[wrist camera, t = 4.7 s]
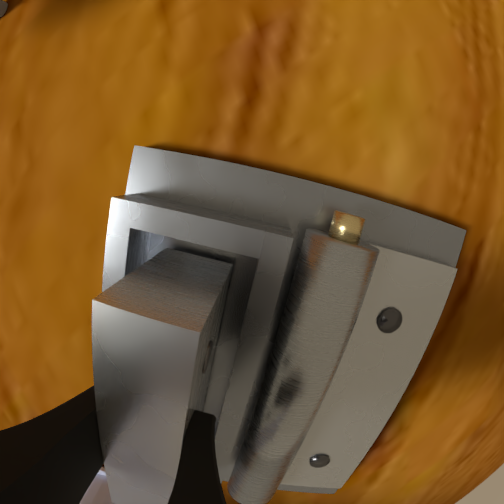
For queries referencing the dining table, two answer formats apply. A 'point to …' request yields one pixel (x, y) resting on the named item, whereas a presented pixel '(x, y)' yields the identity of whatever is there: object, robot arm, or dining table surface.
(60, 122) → the dining table surface
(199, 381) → the brushed steel bar
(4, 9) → the mechanical component
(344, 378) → the fixed leaf
